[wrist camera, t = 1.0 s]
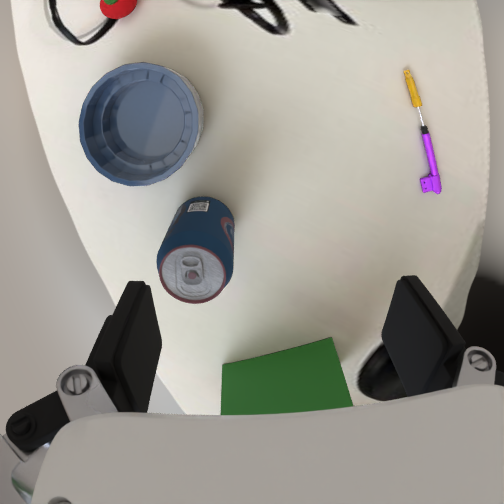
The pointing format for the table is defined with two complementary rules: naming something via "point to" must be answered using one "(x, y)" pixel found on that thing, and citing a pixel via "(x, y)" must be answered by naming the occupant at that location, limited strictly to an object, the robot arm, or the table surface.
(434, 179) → the purple yellow rod
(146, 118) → the bowl
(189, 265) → the soda can
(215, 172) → the table surface
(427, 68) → the table surface
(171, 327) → the table surface
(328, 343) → the hardback book
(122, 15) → the tomato
